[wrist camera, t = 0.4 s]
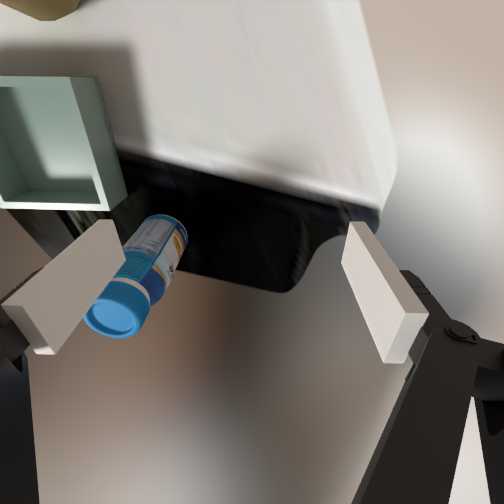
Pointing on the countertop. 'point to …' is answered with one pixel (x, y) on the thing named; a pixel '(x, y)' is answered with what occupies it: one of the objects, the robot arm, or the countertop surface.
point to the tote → (57, 145)
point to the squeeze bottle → (43, 8)
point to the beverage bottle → (139, 277)
